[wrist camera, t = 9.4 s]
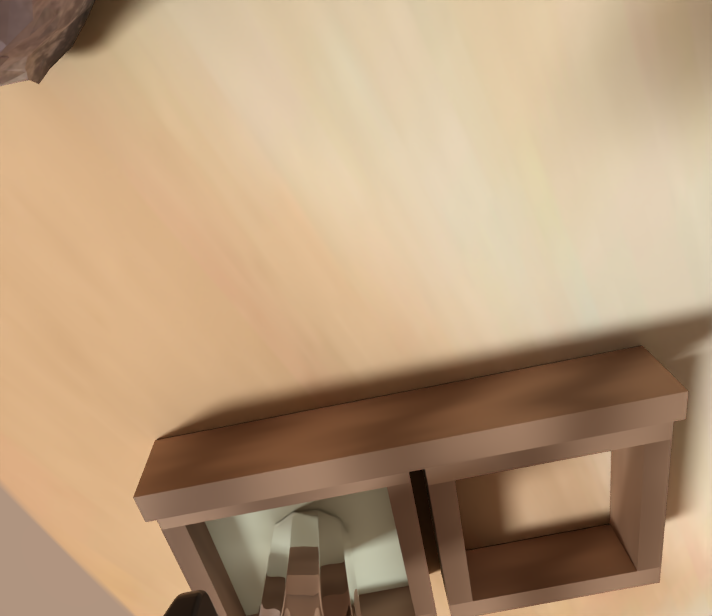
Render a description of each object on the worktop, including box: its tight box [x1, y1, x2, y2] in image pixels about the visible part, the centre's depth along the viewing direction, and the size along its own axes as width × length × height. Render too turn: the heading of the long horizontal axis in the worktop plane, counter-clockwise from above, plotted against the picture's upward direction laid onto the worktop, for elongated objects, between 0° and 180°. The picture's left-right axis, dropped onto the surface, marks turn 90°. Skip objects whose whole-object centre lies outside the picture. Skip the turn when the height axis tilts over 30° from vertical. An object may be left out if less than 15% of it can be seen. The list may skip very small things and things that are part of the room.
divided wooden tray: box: [133, 346, 688, 616], centre depth 23 cm, size 19×11×3 cm, turn 101°
